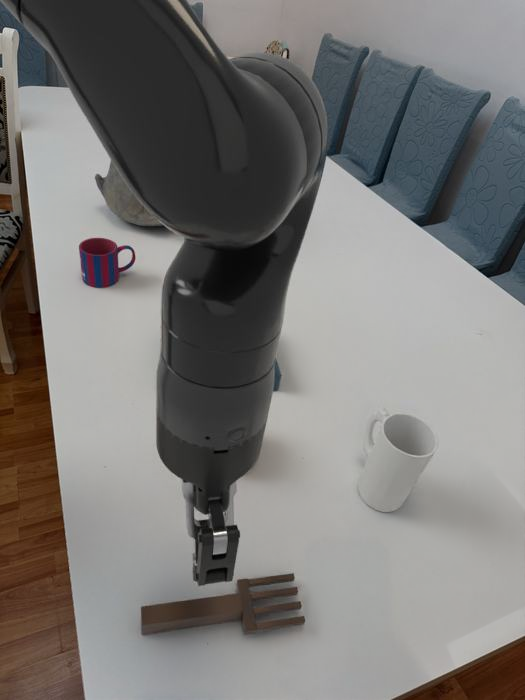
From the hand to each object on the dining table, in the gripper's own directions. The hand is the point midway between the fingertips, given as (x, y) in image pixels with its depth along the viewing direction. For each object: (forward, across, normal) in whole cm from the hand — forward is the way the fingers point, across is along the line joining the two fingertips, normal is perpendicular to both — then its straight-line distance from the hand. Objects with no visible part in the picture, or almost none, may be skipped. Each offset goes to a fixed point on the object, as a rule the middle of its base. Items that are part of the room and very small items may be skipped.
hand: (200, 528), depth 43 cm
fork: (+14, +2, +3) cm, 15 cm away
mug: (+15, -12, +26) cm, 32 cm away
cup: (+14, -62, -10) cm, 65 cm away
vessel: (+14, -88, -1) cm, 89 cm away
